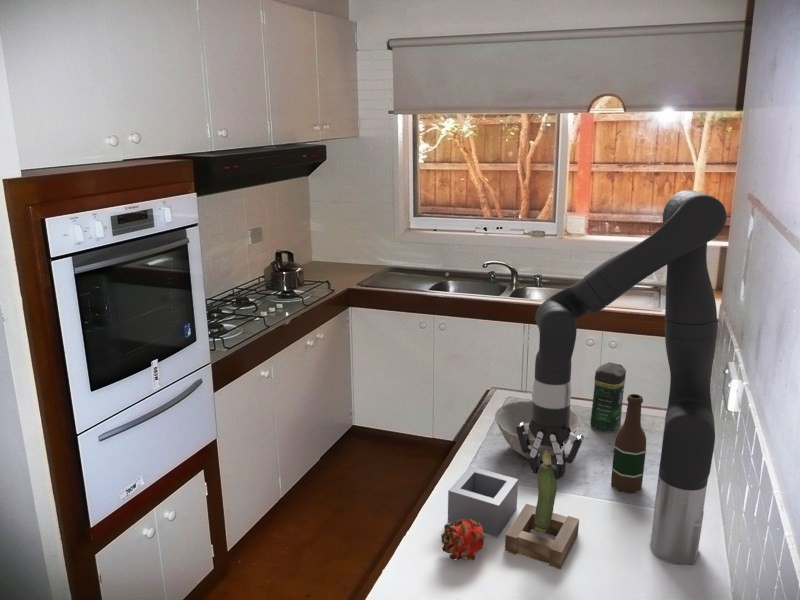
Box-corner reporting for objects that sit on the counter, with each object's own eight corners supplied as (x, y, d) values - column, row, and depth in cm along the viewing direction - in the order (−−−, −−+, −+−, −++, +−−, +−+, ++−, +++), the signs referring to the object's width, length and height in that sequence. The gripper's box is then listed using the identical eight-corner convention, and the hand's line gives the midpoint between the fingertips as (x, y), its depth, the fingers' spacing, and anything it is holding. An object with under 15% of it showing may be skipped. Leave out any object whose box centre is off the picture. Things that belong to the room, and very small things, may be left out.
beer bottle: (648, 484, 167) (658, 395, 160) (634, 497, 162) (644, 406, 155) (618, 473, 172) (627, 386, 166) (604, 485, 167) (612, 396, 160)
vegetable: (539, 523, 148) (544, 440, 142) (558, 530, 145) (563, 446, 139) (530, 532, 144) (534, 448, 139) (548, 540, 142) (553, 455, 136)
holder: (516, 509, 157) (518, 479, 155) (497, 537, 147) (498, 505, 145) (469, 495, 163) (470, 465, 161) (447, 521, 153) (448, 490, 151)
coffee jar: (614, 435, 192) (620, 374, 187) (586, 428, 196) (592, 368, 191) (623, 422, 200) (629, 363, 194) (597, 415, 204) (602, 358, 198)
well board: (577, 534, 148) (579, 519, 147) (560, 569, 137) (561, 552, 136) (525, 518, 154) (526, 503, 153) (504, 550, 143) (505, 534, 142)
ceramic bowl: (487, 467, 176) (488, 432, 173) (500, 427, 197) (501, 396, 194) (575, 480, 169) (577, 444, 167) (579, 438, 191) (581, 405, 188)
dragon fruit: (441, 574, 138) (473, 552, 148) (472, 566, 133) (503, 544, 143) (425, 533, 140) (458, 515, 150) (455, 524, 135) (487, 505, 144)
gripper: (591, 399, 136) (586, 474, 141) (523, 385, 142) (520, 458, 147) (581, 413, 129) (576, 492, 134) (511, 399, 136) (508, 474, 141)
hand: (547, 474), depth 141 cm, fingers closed on vegetable, 4 cm apart
